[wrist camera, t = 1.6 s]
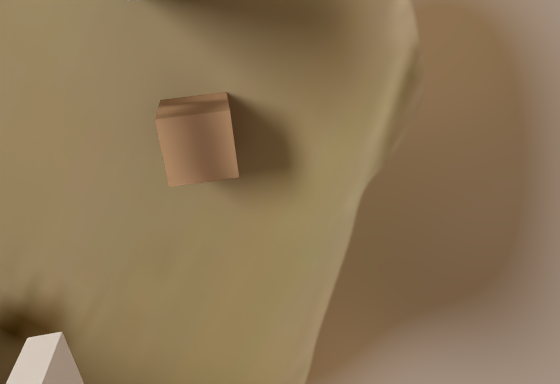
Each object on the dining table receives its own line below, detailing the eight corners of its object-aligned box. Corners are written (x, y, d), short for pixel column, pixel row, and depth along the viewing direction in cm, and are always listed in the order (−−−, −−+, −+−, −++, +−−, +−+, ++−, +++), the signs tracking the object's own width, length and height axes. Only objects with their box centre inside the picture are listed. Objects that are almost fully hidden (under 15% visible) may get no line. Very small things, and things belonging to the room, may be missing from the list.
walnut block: (173, 160, 38) (169, 186, 33) (160, 99, 35) (154, 119, 31) (234, 152, 38) (239, 177, 34) (226, 91, 36) (229, 110, 31)
